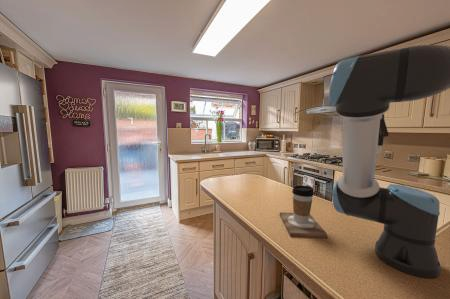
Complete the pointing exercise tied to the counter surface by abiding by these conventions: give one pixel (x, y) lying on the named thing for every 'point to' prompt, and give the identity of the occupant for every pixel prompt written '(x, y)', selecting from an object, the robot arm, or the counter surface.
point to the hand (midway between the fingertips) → (366, 151)
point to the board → (302, 227)
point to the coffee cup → (302, 203)
